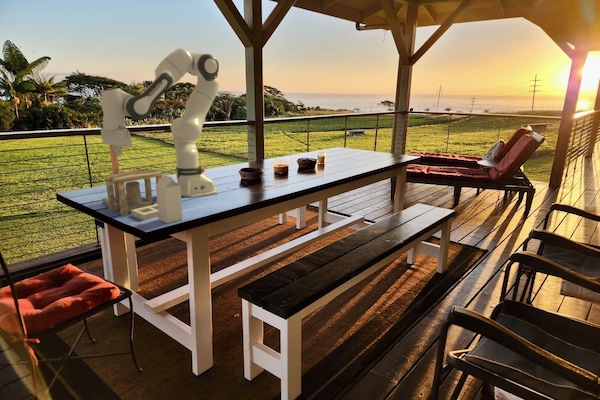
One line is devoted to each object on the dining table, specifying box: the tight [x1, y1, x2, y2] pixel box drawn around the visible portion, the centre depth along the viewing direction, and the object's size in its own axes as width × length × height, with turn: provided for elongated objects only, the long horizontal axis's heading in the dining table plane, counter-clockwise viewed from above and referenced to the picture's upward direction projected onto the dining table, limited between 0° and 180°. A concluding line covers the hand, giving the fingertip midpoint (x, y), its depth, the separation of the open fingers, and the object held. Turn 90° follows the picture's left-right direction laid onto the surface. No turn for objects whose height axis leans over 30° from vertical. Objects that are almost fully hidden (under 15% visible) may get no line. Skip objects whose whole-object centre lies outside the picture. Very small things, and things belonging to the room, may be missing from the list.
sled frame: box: [102, 145, 155, 213], centre depth 178 cm, size 20×14×28 cm
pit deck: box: [130, 203, 159, 221], centre depth 170 cm, size 10×14×2 cm
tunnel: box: [104, 168, 164, 217], centre depth 175 cm, size 13×20×16 cm, turn 142°
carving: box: [124, 180, 143, 206], centre depth 177 cm, size 6×8×12 cm
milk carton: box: [155, 174, 183, 224], centre depth 161 cm, size 7×7×19 cm
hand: (118, 155), depth 178 cm, fingers closed
